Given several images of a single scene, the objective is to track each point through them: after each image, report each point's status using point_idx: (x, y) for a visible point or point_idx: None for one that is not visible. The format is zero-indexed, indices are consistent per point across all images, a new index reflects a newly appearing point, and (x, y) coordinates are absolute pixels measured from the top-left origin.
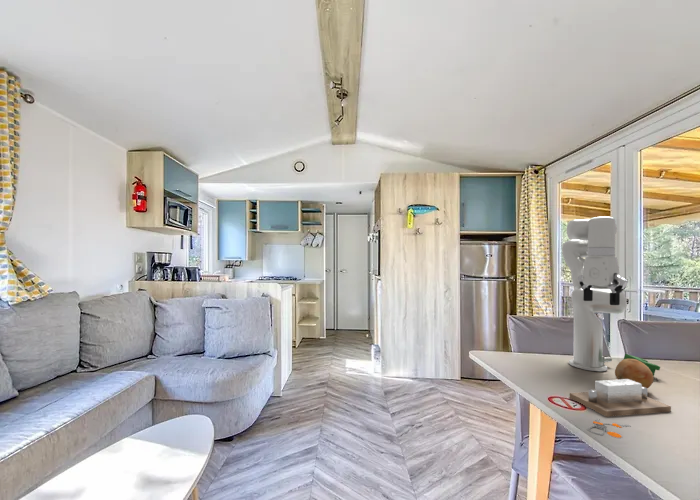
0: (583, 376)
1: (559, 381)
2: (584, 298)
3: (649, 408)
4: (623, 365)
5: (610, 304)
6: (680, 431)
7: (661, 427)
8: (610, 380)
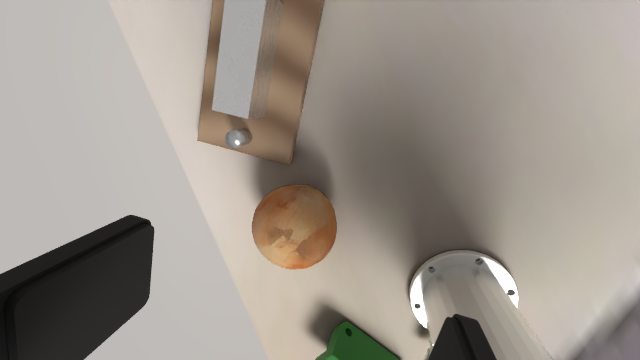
0: (415, 189)
1: (424, 70)
2: (471, 334)
3: (205, 79)
4: (298, 207)
5: (144, 219)
6: (145, 41)
7: (164, 22)
8: (255, 47)
